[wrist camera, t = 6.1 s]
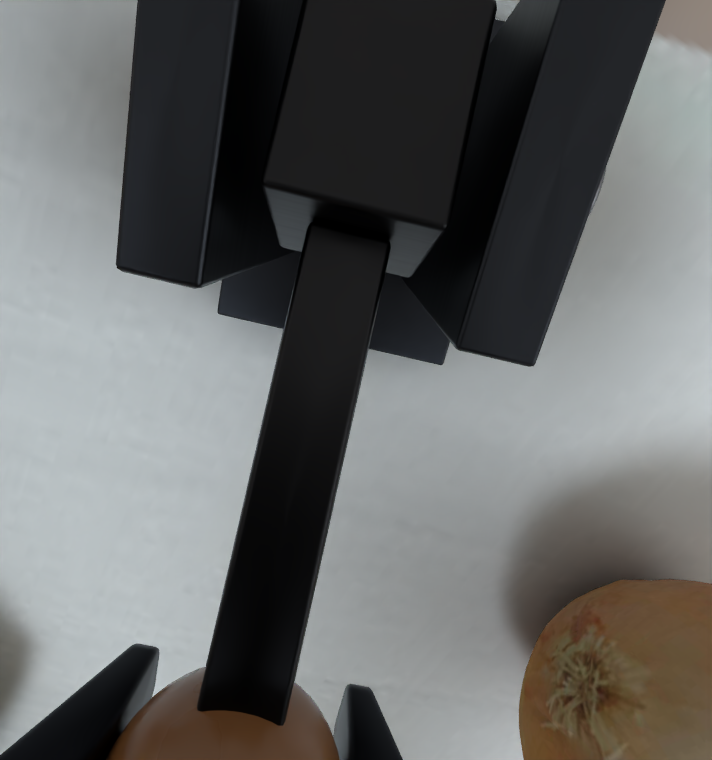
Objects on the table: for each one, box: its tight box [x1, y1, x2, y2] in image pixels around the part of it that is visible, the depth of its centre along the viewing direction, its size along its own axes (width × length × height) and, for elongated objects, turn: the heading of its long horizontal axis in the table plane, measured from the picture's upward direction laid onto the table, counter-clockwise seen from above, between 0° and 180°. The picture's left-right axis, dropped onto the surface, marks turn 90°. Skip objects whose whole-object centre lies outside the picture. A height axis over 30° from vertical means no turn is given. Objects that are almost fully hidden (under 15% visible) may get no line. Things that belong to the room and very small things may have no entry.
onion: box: [519, 579, 712, 760], centre depth 14 cm, size 10×10×10 cm
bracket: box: [116, 0, 666, 367], centre depth 10 cm, size 9×7×10 cm
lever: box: [106, 0, 497, 760], centre depth 7 cm, size 12×3×3 cm, turn 167°
